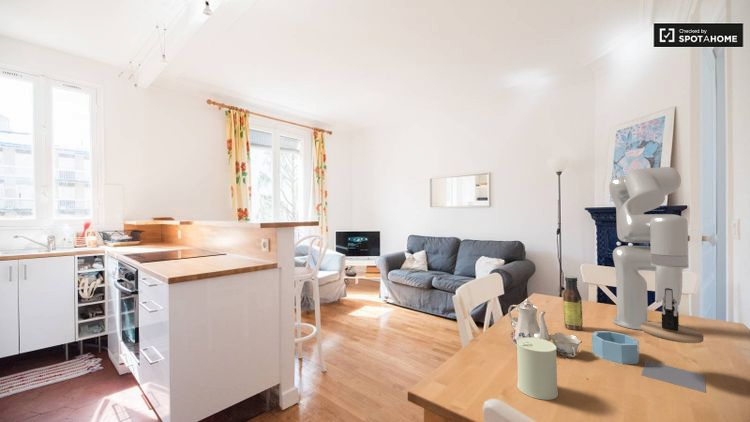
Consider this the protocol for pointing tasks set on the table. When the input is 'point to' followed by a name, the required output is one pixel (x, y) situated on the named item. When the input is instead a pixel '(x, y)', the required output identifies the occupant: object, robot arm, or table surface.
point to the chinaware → (539, 329)
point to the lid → (672, 333)
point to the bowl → (615, 347)
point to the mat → (674, 376)
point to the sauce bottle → (572, 305)
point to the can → (537, 368)
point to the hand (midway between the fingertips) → (670, 326)
